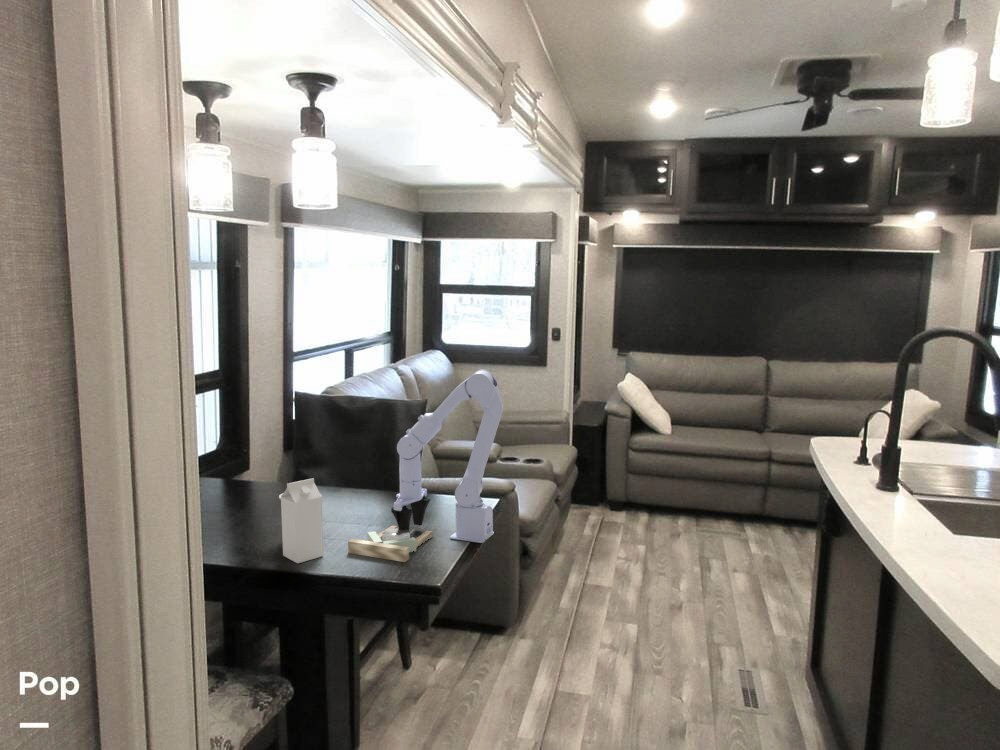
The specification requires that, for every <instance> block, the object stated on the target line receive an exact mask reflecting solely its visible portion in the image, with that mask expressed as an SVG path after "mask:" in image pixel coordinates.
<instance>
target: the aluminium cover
mask: <svg viewBox="0 0 1000 750" xmlns="http://www.w3.org/2000/svg"><path fill="white" fill-rule="evenodd" d="M385 530H386V529H385ZM383 531H384V530H383ZM410 533H411V532H410V530H409V531H408V530H406V529H400V528H399V527H397V528H396V529H389V530H386V531H384V532H383V533H382V541H390V540H397V539H404V538H411V537H410V536H411V534H410Z"/></svg>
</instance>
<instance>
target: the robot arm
mask: <svg viewBox="0 0 1000 750" xmlns="http://www.w3.org/2000/svg"><path fill="white" fill-rule="evenodd" d="M472 398H473V399H474V400H475V401H477V402H478V403H479V405H480V407H481V409H482V410H483V414H482V417H481V422H480V424H479V427H478V431H477V433H476V437H475V440H474V443H473V447H472V451H471V453H470V457H469V461H468V463H467V466H466V469H465V471H464V472H465V473H464V475H463V477H462V478H461V479H460V482H459V485H458V486H457V487H456V489H455V490H454V498H455V532H454V533H453V534H451V535H450V536H449V539H452V540H457V541H464V542H472V543H478V544H483V543H485V542H486V541H487V540H488V539H489V538H491V536H493V535H494V534H495V532H494V527H493V526H494V519H493V518H494V513H493V507H492V506H491V505H487V504H485V503H484V500H483V499H482V497H481V496H480V495H481V493H482V492H483V489H484V483H483V477H484V474H485V470H486V466H487V463H488V459H489V456H490V453H491V451H492V447H493V444H494V441H495V437H496V435H497V430H498V428H499V425H500V421H501V419H502V415H503V412H504V409H505V408H504V407H505V405H504V402H503V398H502V395H501V392H500V387H499V382H498V380H497V379H496V377H495V376H494V375H493V373H491V372H490V371H489V370H487V369H478V370H476V371H474V373H473V374H472V375H470V376H469V377H467V378H466V379H465V380H464V381H462V382H461V383H459V384H458V385H457V386H456V387H455V388H454V389H453V390H452V391H451V392H450V393H449V395H448V396H447V397H446V398H445V399H444V400H443V401H442V403H440V405H439V406H438V407H437V408H436V409H435V410H434V411H433V412H426V413H424V415H423V414H420V415H419V416H418V418H417V420H418V421H417V422H416V423H415V424H414V425H413V426H412V427H411V428H408V429H407V430H406V431H405V433H406V434H405V435H404V436H402V437H401V438H400V439H399V441H398V442H397V444H396V452H397V454H398V455H399V463H398V464H399V465H398V466H399V471H398V472H399V474H398V475H399V493H397V494H396V497H395V498H396V501H394V502H393V506H392V507H391V510H390V511H391V514H392V515H393V516H394V518H395V520H396V523H397V528H400V529H406V530H408V531H409V532H410V525H411V524H410V522H411V518H412V520H413V522H412V523H413V524H414V525H415V526H422V525H423V522H424V519H425V518H424V517H425V513H426V510H427V507H428V505H429V503H430V501H431V500H430V498H429V497H427V496H428V489H427V488H423V487H422V461H421V451H422V449H423V448H424V446H426V445H427V444H428V443H429V442H430V441H431V440H432V439H433V438H434V437H435V436H436V435H437V433H439V432H440V431H441V430H442V428H443V425H442V424H443V423H442V421H443V420H444V419H445V418H446V417H447V416H448V415H449V414H451V412H452V411H453V410H454V409H456V407H457V406H458V405H459V404H460V403H461V402H463V401H468V400H471V399H472ZM409 505H410V507H411V509H410V508H408V507H407V506H409Z"/></svg>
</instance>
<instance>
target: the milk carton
mask: <svg viewBox="0 0 1000 750" xmlns="http://www.w3.org/2000/svg"><path fill="white" fill-rule="evenodd" d="M282 494H283V495H282V496H281V500H280V508H281V509H280V510H281V511H280V512H281V532H282V533H281V534H282V538H281V539H282V556H283V557H285V558H287V559H289V560H290V561H293V562H294V563H295V564H300V563H304V562H307V561H311V560H313V559H317V558H321V557H324V534H323V533H324V528H323V523H324V522H323V503H322V502H323V501H322V500H323V498H322V497H321V495H322V494H321V492H320V491H319V489H318V487H317V485H316V483H315V478H314V477H313V478H308V479H304V480H303V479H302V480H298V481H293V482H289V483H288V482H287V483H286V489H285V490H284V492H283V493H282ZM320 494H321V495H320Z"/></svg>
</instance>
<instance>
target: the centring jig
mask: <svg viewBox="0 0 1000 750" xmlns="http://www.w3.org/2000/svg"><path fill="white" fill-rule="evenodd" d="M396 528H398V525H391V526H388V527H387V528H386V529H384V530H382V531H380V532H379V533H377V532H376V531H368V532H366V533H367V534H366V535H367V540H363V539H358V538H357V539H356V538H351V539H349V540H348V541H347V547H348V548H347V551H348V553H349V554H352V555H359V556H365V557H370V558H377V559H383V560H389V561H396V562H401V563H402V562H403V563H406V562H408V561H409V560H410V553H413V551H414V552H417V549H418V548H419V547H420V546H422V545H423V544H424V543H426V542H427V541H428V539H429V540H430V539H431V538H433V530H426V531H424V532H422V533H421V534H420V535H418V536H417V537H414V536H412V537H410V538H404V539H397V540H390V541H382V533H383V532H384V531H386V530H389V529H396ZM425 541H426V542H425ZM422 543H423V544H422ZM421 544H422V545H421ZM418 546H419V547H418Z"/></svg>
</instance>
